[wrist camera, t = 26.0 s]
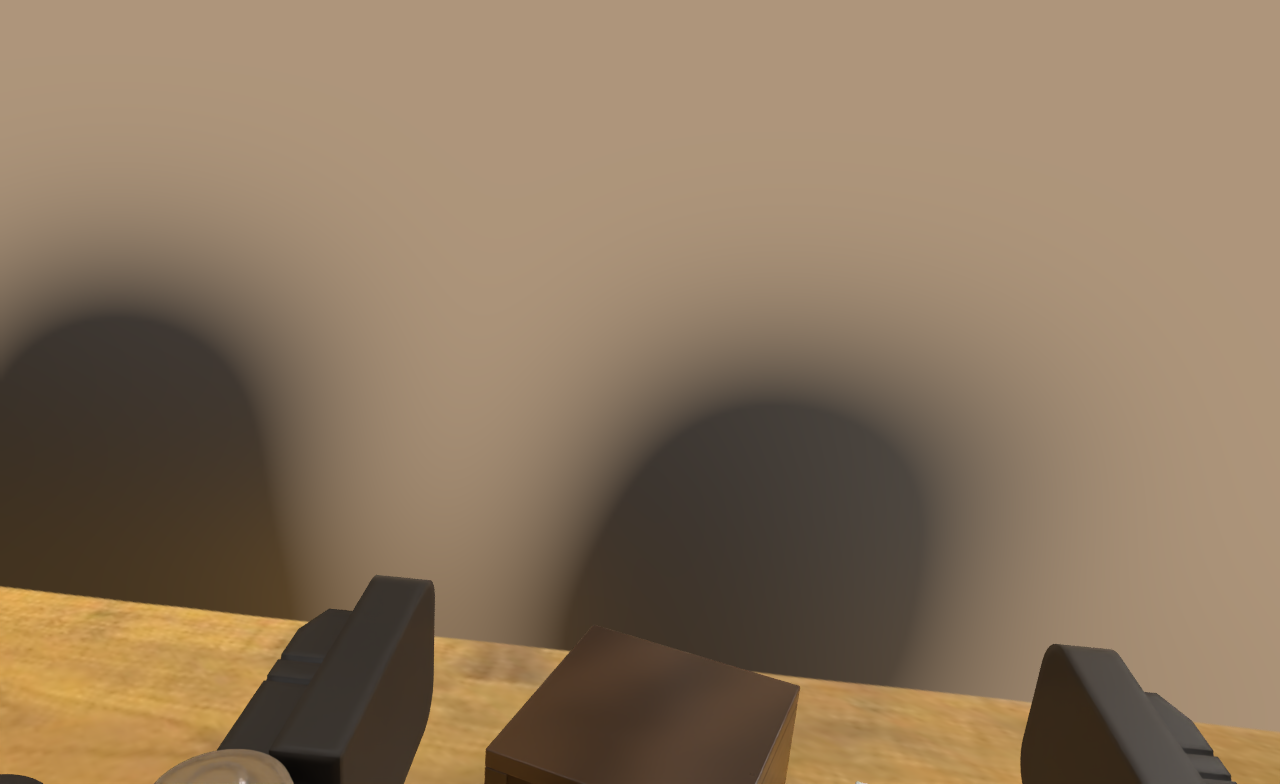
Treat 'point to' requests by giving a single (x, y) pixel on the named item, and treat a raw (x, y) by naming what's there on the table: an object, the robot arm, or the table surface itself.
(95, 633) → the table surface
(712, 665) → the stand
